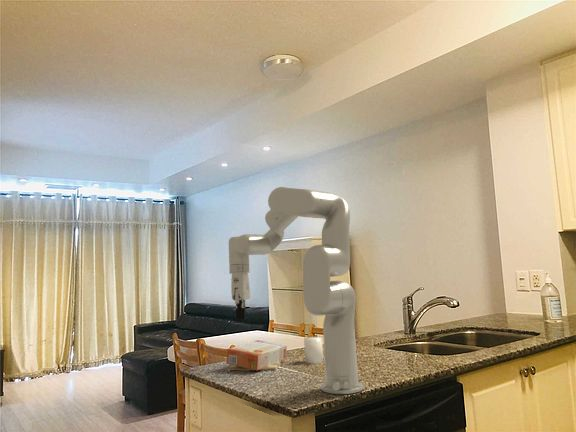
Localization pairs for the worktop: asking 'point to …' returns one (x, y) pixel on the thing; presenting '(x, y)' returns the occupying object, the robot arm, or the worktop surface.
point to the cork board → (233, 367)
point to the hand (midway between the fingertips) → (240, 319)
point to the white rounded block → (313, 350)
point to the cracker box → (256, 355)
